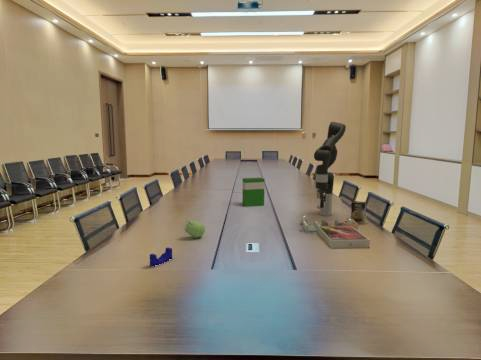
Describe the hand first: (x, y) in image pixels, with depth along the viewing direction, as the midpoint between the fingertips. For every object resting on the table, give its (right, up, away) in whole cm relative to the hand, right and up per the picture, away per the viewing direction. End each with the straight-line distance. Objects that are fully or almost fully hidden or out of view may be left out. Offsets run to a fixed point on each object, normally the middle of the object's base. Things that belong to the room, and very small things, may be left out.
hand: (320, 206), depth 217 cm
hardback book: (-41, -5, +76) cm, 87 cm away
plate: (+8, -13, +3) cm, 16 cm away
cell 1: (-8, -14, +15) cm, 22 cm away
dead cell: (+20, -14, +2) cm, 24 cm away
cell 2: (0, -1, 0) cm, 1 cm away
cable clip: (-92, -24, -52) cm, 109 cm away
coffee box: (+30, -14, +16) cm, 36 cm away
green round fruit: (-81, -18, -14) cm, 84 cm away
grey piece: (+8, -15, +3) cm, 17 cm away
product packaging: (+8, -19, -17) cm, 27 cm away
